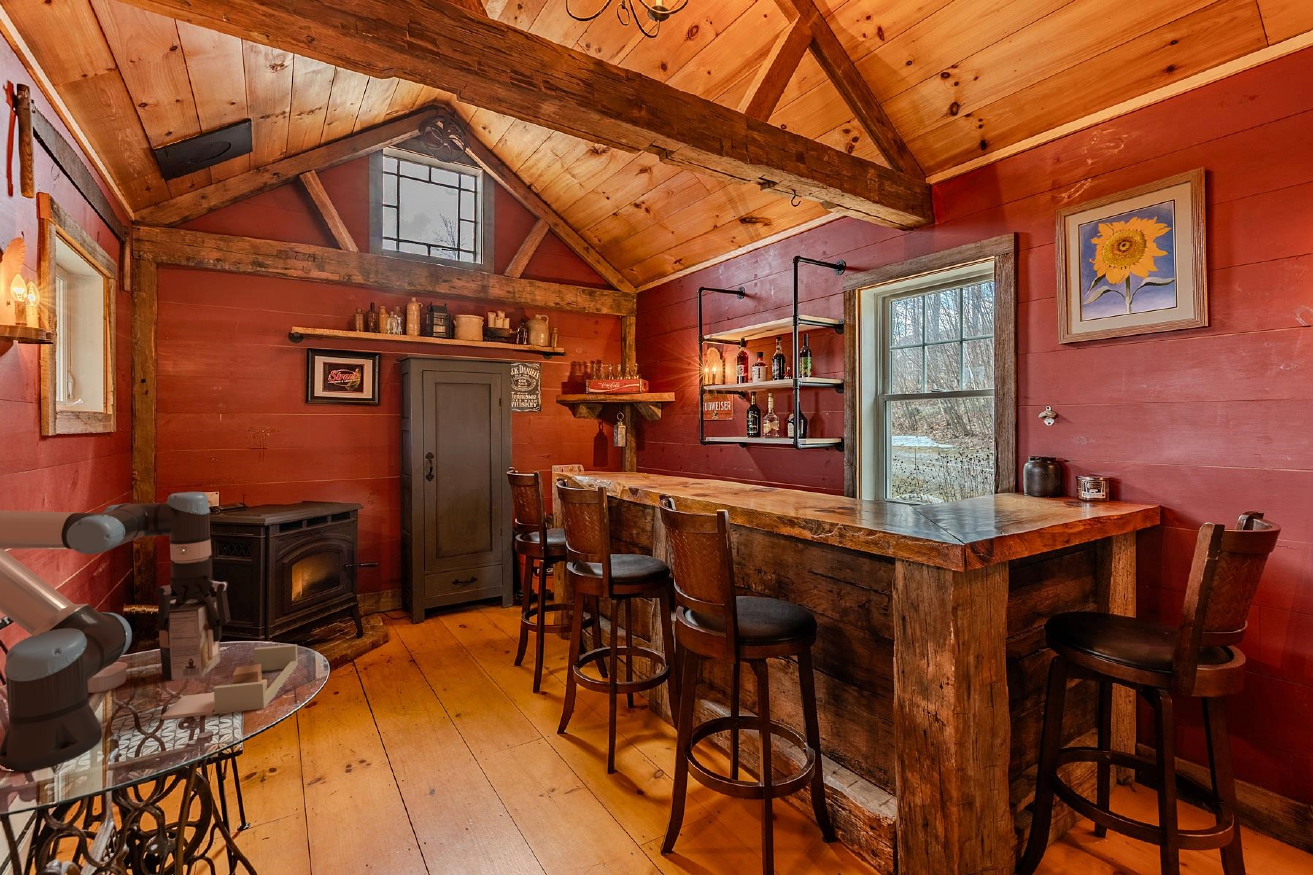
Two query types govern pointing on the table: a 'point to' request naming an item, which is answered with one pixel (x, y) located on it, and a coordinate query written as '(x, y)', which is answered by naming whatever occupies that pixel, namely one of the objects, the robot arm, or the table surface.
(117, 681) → the round wooden block
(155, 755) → the table surface
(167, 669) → the travel mug
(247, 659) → the table surface
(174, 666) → the coffee box
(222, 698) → the rack
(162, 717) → the plate
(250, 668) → the offcut top
